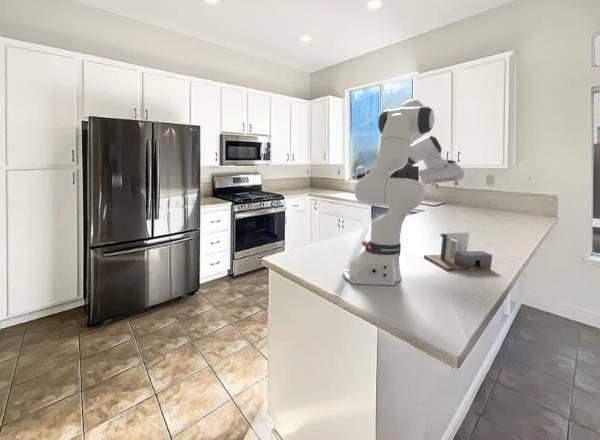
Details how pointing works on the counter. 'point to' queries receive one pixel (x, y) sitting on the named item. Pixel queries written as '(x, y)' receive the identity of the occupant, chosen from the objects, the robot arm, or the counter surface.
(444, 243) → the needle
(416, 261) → the counter surface
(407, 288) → the counter surface
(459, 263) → the stand
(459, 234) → the light grey boxy piece
